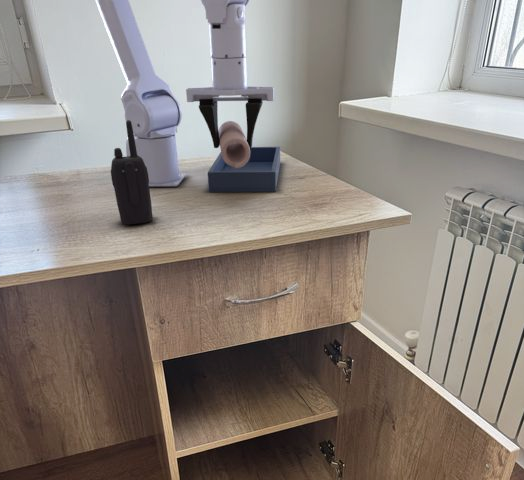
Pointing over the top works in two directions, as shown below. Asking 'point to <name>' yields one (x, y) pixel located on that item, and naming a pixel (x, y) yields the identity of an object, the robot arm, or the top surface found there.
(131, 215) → the two-way radio
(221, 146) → the pink hollow tube
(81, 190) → the top surface
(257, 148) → the holder
